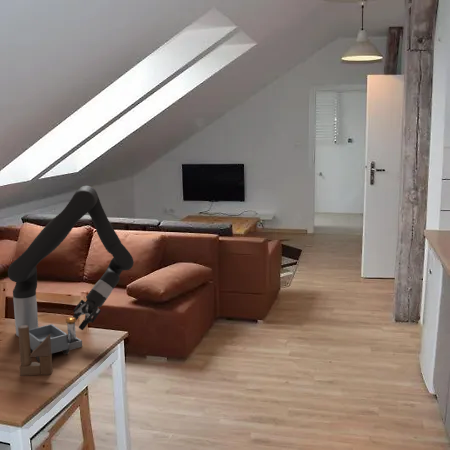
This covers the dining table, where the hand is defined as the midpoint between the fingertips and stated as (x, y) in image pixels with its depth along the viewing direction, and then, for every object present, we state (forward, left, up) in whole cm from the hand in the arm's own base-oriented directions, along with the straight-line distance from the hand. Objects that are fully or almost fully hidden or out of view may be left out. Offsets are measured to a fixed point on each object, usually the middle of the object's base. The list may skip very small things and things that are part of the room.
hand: (75, 326), depth 212 cm
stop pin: (0, -2, -8) cm, 8 cm away
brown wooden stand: (+14, -22, -8) cm, 28 cm away
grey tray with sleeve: (0, -9, -8) cm, 12 cm away
